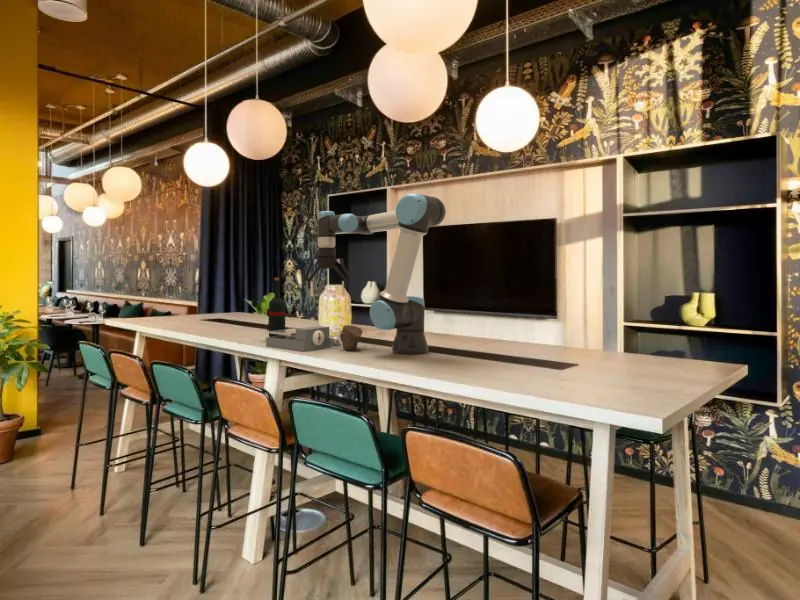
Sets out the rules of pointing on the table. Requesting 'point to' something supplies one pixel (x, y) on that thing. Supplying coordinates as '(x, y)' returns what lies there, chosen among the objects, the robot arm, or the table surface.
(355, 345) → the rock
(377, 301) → the robot arm
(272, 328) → the wine bottle
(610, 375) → the table surface
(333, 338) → the spacer
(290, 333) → the pan
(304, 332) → the scale base
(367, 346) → the table surface
